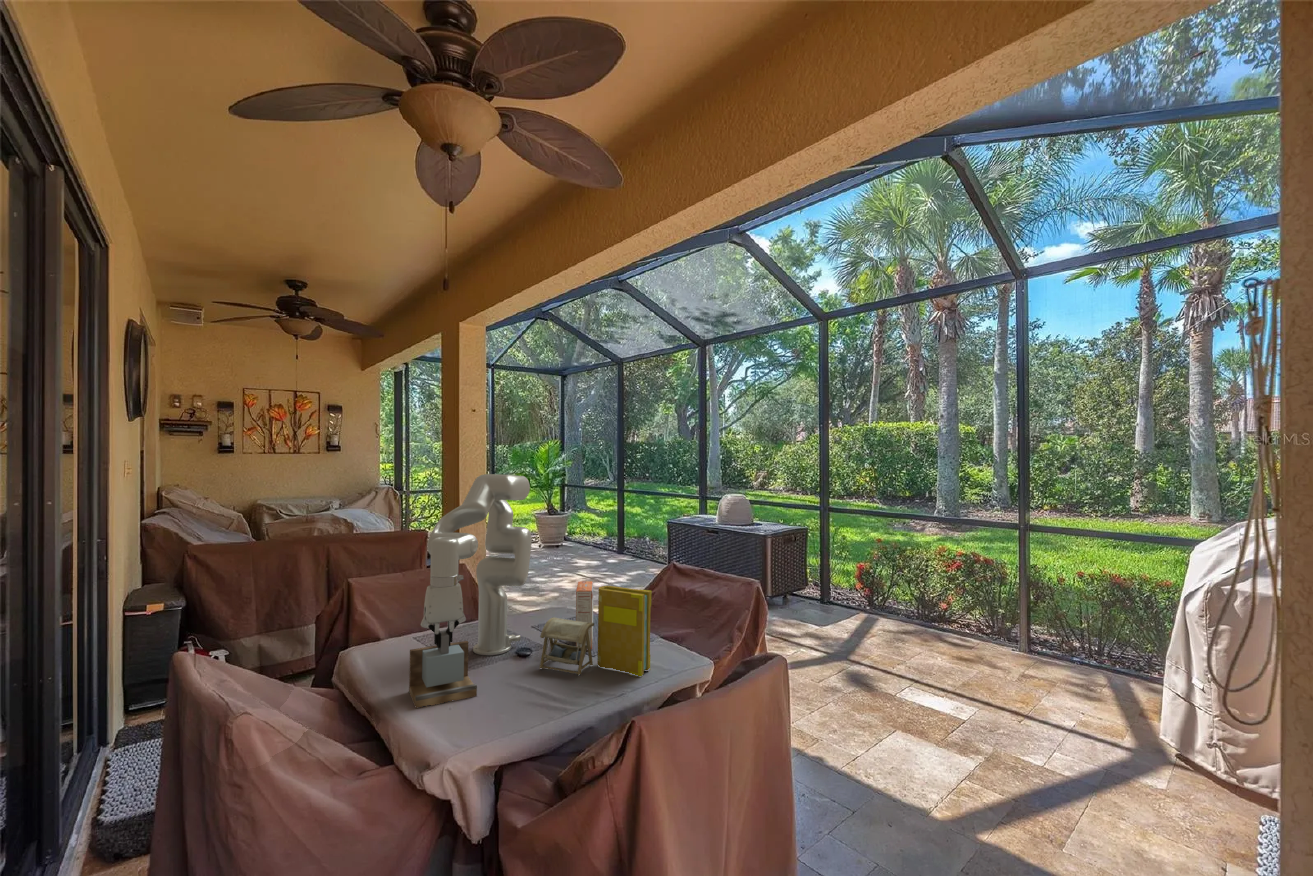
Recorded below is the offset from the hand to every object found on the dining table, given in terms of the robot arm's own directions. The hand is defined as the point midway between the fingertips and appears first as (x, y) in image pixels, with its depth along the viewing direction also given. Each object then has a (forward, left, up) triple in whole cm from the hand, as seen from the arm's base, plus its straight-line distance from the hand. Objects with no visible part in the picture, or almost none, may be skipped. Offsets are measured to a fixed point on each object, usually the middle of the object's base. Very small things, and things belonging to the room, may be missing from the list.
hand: (443, 645), depth 166 cm
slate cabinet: (0, 0, -10) cm, 10 cm away
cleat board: (0, +2, -13) cm, 14 cm away
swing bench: (-38, 0, -14) cm, 40 cm away
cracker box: (-52, -18, -14) cm, 57 cm away
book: (-53, +9, -14) cm, 55 cm away
